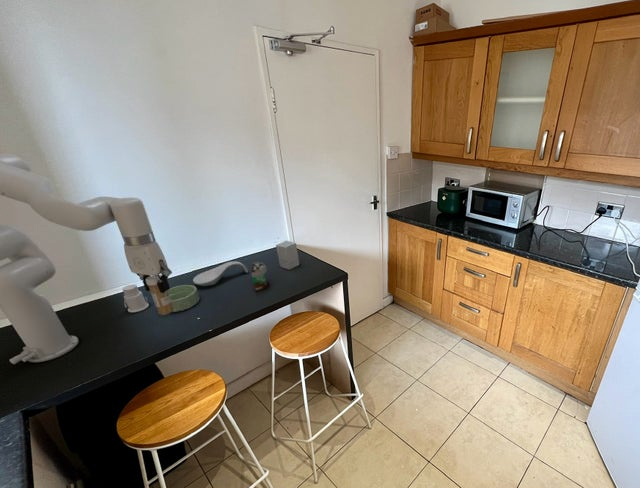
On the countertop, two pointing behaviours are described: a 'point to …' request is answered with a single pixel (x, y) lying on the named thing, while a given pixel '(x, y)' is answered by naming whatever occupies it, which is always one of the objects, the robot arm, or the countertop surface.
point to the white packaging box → (287, 254)
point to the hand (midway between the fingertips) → (158, 289)
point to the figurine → (259, 275)
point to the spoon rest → (215, 274)
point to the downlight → (134, 299)
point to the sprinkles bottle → (159, 296)
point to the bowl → (183, 297)
